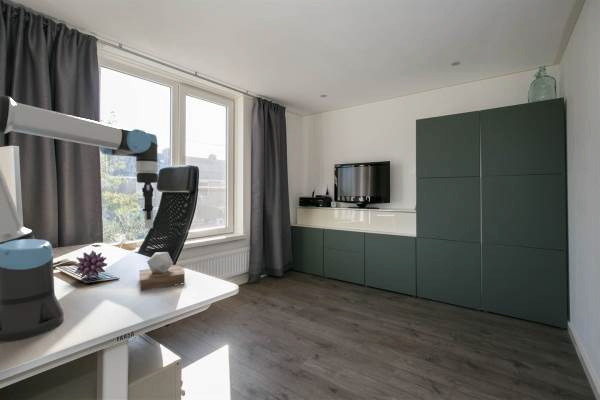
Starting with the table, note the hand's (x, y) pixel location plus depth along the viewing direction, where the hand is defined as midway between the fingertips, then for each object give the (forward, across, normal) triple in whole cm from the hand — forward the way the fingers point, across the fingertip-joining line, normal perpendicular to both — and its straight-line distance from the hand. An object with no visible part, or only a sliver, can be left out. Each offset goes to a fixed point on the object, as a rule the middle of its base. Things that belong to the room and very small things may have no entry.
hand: (148, 226), depth 119 cm
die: (+18, -2, -4) cm, 19 cm away
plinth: (+22, -3, -4) cm, 23 cm away
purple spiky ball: (+23, +18, +22) cm, 36 cm away
